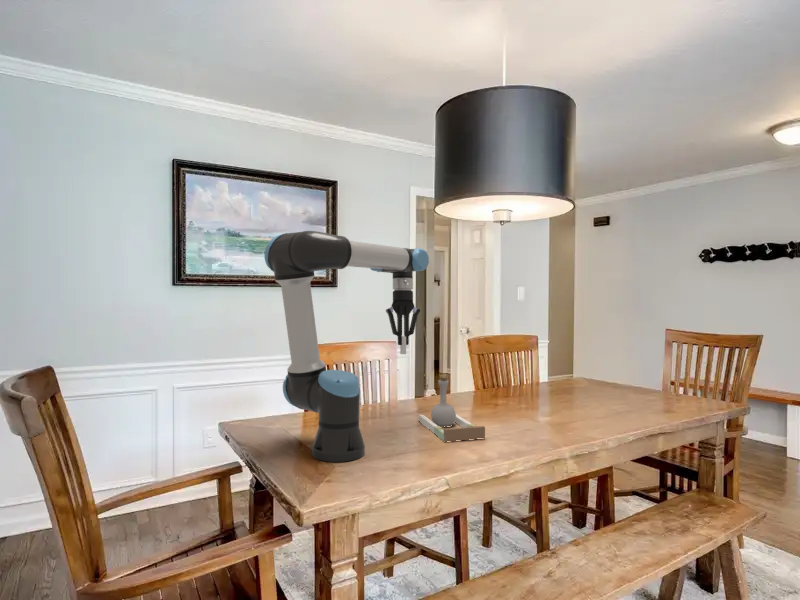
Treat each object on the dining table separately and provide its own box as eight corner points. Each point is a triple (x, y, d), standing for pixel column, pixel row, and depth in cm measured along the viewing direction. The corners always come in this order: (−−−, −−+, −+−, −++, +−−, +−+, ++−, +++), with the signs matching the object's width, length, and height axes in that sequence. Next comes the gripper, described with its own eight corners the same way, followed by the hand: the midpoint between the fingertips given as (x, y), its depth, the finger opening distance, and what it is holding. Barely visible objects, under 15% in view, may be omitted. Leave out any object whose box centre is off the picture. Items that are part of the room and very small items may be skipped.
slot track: (485, 439, 155) (485, 426, 155) (444, 442, 151) (444, 429, 151) (453, 418, 180) (454, 408, 180) (418, 421, 176) (418, 410, 176)
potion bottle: (457, 422, 174) (457, 373, 174) (453, 429, 166) (453, 377, 166) (433, 421, 177) (433, 372, 177) (428, 427, 168) (428, 376, 168)
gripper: (388, 289, 174) (388, 355, 172) (422, 289, 177) (423, 354, 176) (383, 290, 181) (383, 353, 180) (416, 291, 184) (417, 353, 183)
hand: (403, 354), depth 178 cm, fingers closed
